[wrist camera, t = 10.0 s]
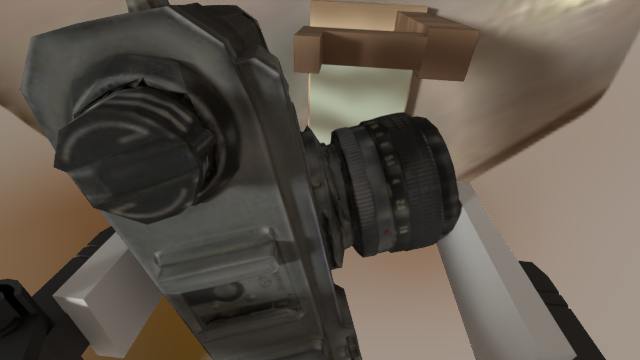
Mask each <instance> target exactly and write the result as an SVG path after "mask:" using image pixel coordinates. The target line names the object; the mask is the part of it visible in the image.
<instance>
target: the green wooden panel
mask: <svg viewBox="0 0 640 360" xmlns="http://www.w3.org/2000/svg"><path fill="white" fill-rule="evenodd" d="M427 10H428V7H426V6H414V5H395V4H377V3H359V2H340V1H322V0H311V2H310V26H304V27H303V28H301V29H300V30H299V31H298V32H297V33H296V34H295V35H294V72H299V73H309V101H308V126H309V128H310V129H311V130H312V131H313V133H314V134H315V136H316V137H317V139H318V140H319V142H320V143H325V144H326V145H328V144H330V141H331V132H333V131H334V130H335V129H339V128H344V127H352V126H356V125H359V123H360V122H362V121H367V120H371V119H374V118H377V117H380V116H384V115H389V114H393V113H399V112H404V113H405V110H406V105H407V101H408V96H409V92H410V87H411V83H412V78H413V73H415V75H416V76H417V77H418V79H434V80H449V81H464V80H465V77H466V73H467V70H468V67H469V64H470V61H471V58H472V55H473V52H474V49H475V45H476V42H477V39H478V36H479V33H480V31H478V30H476V29H473V28H470V27H467V26H464V25H461V24H458V23H455V22H452V21H450V20H447V19H444V18H441V17H438V16H435V15H432V14H429V13H427Z"/></svg>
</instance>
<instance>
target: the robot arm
mask: <svg viewBox="0 0 640 360" xmlns="http://www.w3.org/2000/svg"><path fill="white" fill-rule="evenodd" d="M456 182H457V187H458V192H459V201H458V217H457V220H456V222H455V225H454V228H453V230H452V231H450V232H448V233H446V234H444V235H441V237H440V239H439V240H438V242H437V246H438V249H439V252H440V255H441V258H442V261H443V264H444V267H445V270H446V273H447V276H448V279H449V282H450V285H451V288H452V290H453V294H454V296H455V299H456V302H457V305H458V308H459V311H460V314H461V317H462V320H463V323H464V326H465V329H466V332H467V335H468V338H469V341H470V344H471V347H472V349H473V353H474V356H475V358H476V360H606V359H605V358H604V356H603V355H602V353H601V352H600V351H599V349H598V348H597V346H596V345H595V343H594V342H593V340H592V339H591V338H590V336H589V335H588V333H587V332H586V330H585V329H584V328H583V326H582V325H581V323H580V322H579V320H578V319H577V318H576V316H575V315H574V313H573V312H572V310H571V309H569V308H568V305H567V303H566V302H565V300H564V299H563V297H562V296H561V295H559V292H558V290H557V289H556V287H555V286H554V284H553V283H552V282H551V280H550V279H549V277H548V276H547V275H546V274H545V273H544V272H542V271H541V270H540V269H539V268H538V267H537V266H536V265H534V264H533V263H532V262H523V261H518V260H517V259H516V257H515V256H514V254H513V252H512V251H511V249H510V247H509V246H508V244H507V243H506V241H505V239H504V238H503V236H502V235H501V233H500V232H499V230H498V228H497V227H496V225H495V223H494V222H493V220H492V219H491V217H490V215H489V214H488V212H487V210H486V209H485V207H484V206H483V204H482V202H481V201H480V199H479V198H478V196H477V194H476V193H475V191H474V190H473V188H472V186H471V185H470V183H469V182H460V181H456ZM162 296H163V293H162V292H161V291H160V289H159V288H158V287H157V285H156V284H155V283H154V281H153V280H152V279H151V277H150V276H149V275H148V273H147V272H146V271H145V269H144V268H143V267H142V265H141V264H140V263H139V261H138V260H137V259H136V257H135V256H134V255H133V253H132V252H131V251H130V249H129V248H128V247H127V246H126V244H125V243H124V242H123V240H122V239H121V238H120V236H119V235H118V234H117V232H116V231H115V230H114V228H113V227H112V226H111V227H109V228H107V229H105V230H104V231H102V232H100V233H99V234H98V235H97V236H96V237H95V238H94V239H93V240H92V241H91V242H90V243H88V245H87V247H84V248H83V249H82V250H81V251H80V252H79V253H78V254H77V256H76V258H73V259H72V260H70V261H69V262H68V263H67V264H66V265H65V266H64V267H63V268H62V269H61V270H60V271H59V272H58V273H57V274H56V275H55V276H54V277H53V278H52V279H50V280H49V281H48V282H47V283H46V284H45V285H44V286H43V287H42V288H41V289H40V290H39V291H38V292H36V293H35V294H34V295H33V296H32V297H31V296H30V295H29V293H28V292H27V291H26V290H25V288H24V287H23V286H22V285H21V284H20V283H19V282H18V280H12V279H4V280H0V360H83V358H82V357H81V355H82V354H83V352H84V351H85V350H86V348H87V347H88V346H89V344H90V346H91V347H92V348H93V350H94V351H95V352H96V353H97V355H101V356H109V357H117V358H124V357H125V355H126V353H127V352H128V350H129V349H130V347H131V345H132V344H133V342H134V341H135V339H136V337H137V336H138V334H139V333H140V331H141V330H142V328H143V326H144V325H145V323H146V322H147V320H148V318H149V317H150V315H151V314H152V312H153V310H154V309H155V307H156V306H157V304H158V303H159V301H160V299H161V298H162Z"/></svg>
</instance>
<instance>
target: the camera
mask: <svg viewBox="0 0 640 360" xmlns="http://www.w3.org/2000/svg"><path fill="white" fill-rule="evenodd" d="M126 1H127V6H128V11H129V13H125V14H120V15H115V16H111V17H106V18H101V19H96V20H92V21H87V22H82V23H77V24H74V25H70V26H67V27H63V28H60V29H57V30H53V31H50V32H46V33H43V34H40V35H36V36H33V37H31V39H30V44H29V49H28V53H27V58H26V63H25V67H24V72H23V77H22V82H21V86H20V91H21V93H22V94H23V96H24V98H25V99H26V101H27V103H28V105H29V106H30V108H31V110H32V111H33V113H34V115H35V117H36V118H37V120H38V122H39V124H40V125H41V127H42V129H43V130H44V132H45V134H46V136H47V137H48V139H49V141H50V143H51V144H52V146H53V148H54V149H55V151H56V154H55V160H54V167H55V168H57V169H59V170H62V171H64V172H67V173H68V174H69V176H70V177H71V178H72V180H73V181H74V182H75V184H76V185H77V186H78V188H79V189H80V190H81V192H82V193H83V195H84V196H85V197H86V199H87V200H88V201H89V202H90V204H91V205H92V207H93V208H96V209H99V210H100V211H101V213H102V214H103V215H104V217H105V218H106V219H107V221H108V222H109V223H110V225H111V226H112V227H113V228H114V230H115V231H116V232H117V234H118V235H119V236H120V238H121V239H122V240H123V242H124V243H125V244H126V246H127V247H128V248H129V249H130V251H131V252H132V253H133V255H134V256H135V257H136V259H137V260H138V261H139V263H140V264H141V265H142V267H143V268H144V269H145V271H146V272H147V273H148V275H149V276H150V277H151V279H152V280H153V281H154V283H155V284H156V285H157V287H158V288H159V289H160V291H161V292H162V293H163V295H164V296H165V297H166V298H167V300H168V301H169V302H170V304H171V305H172V306H173V308H174V309H175V310H176V312H177V313H178V314H179V316H180V317H181V318H182V320H183V321H184V322H185V324H186V325H187V326H188V328H189V329H190V330H191V332H192V333H193V334H194V336H195V337H196V338H197V339H198V341H199V342H200V344H201V345H202V346H203V348H204V349H205V350H206V351H207V353H208V354H209V355H210V357H211V358H212V359H213V360H362V357H361V353H360V350H359V345H358V340H357V336H356V332H355V329H354V325H353V321H352V317H351V314H350V310H349V306H348V303H347V299H346V295H345V291H344V289H343V288H341V287H339V286H338V285H336V284H334V282H333V278H332V273H331V270H332V269H336V268H342V263H343V256H344V250H345V249H347V248H349V247H350V246H353V247H354V249H355V250H356V251H357V253H359V254H360V255H361V256H362V257H368V256H374V255H376V254H378V253H381V252H386V251H389V252H391V253H393V252H398V251H409V250H413V249H418V248H423V247H427V246H431V245H433V244H435V243H437V242H438V240H439V239H440V237H441V235H444V234H446V233H448V232H450V231H452V230H453V228H454V225H455V222H456V220H457V217H458V201H459V192H458V187H457V182H456V176H455V171H454V166H453V163H452V160H451V157H450V154H449V151H448V149H447V146H446V144H445V142H444V140H443V138H442V136H441V134H440V132H439V131H438V129H437V128H436V127H435V126H434V125H433V124H432V123H431V122H430V121H429V120H428V119H427V118H423V117H417V116H416V117H411V116H410V115H408V114H407V113H404V112H399V113H393V114H389V115H384V116H380V117H377V118H374V119H371V120H367V121H362V122H360V123H359V125H356V126H352V127H344V128H339V129H335V130H334V131H333V132H331V141H330V144H328V145H326V144H325V143H320V142H319V140H318V139H317V137H316V136H315V134H314V133H313V131H312V130H311V129H310V128H309V126H308V125H307V126H306V128H305V130H304V132H301V131H300V127H299V123H298V119H297V115H296V110H295V107H294V104H293V102H291V99H290V96H289V92H288V91H289V85H288V83H287V81H286V79H285V77H284V75H283V72H282V69H281V65H280V62H279V59H278V58H277V57H276V56H274V55H273V54H271V53H270V52H269V50H268V47H267V45H266V42H265V39H264V37H263V34H262V32H261V29H260V27H259V24H258V21H257V20H256V19H254V18H253V17H252V16H250V15H249V14H248V13H246V12H245V11H243V10H242V9H241V8H239V7H238V6H235V5H209V6H202V5H200V4H199V3H192V4H187V5H170V4H169V2H168V0H126Z"/></svg>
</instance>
